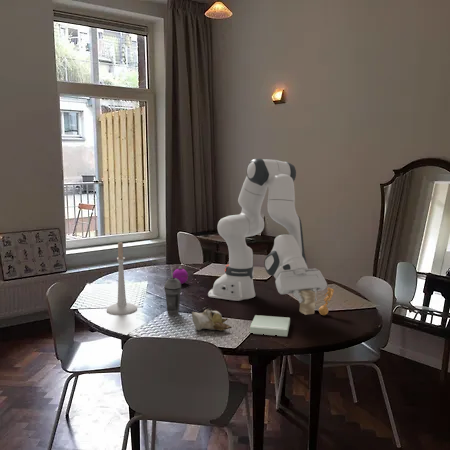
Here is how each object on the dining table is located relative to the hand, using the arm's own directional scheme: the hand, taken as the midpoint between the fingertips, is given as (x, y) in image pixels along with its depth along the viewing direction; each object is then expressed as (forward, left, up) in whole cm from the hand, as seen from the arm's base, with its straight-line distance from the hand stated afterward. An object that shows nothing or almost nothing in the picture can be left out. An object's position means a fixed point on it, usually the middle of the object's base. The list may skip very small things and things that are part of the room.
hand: (308, 301), depth 180 cm
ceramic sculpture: (-37, -2, -13) cm, 39 cm away
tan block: (0, +1, -4) cm, 4 cm away
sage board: (-14, +3, -13) cm, 19 cm away
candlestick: (-79, +11, -13) cm, 81 cm away
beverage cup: (-56, +11, -13) cm, 59 cm away
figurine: (+7, +24, -13) cm, 28 cm away
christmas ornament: (-67, +57, -13) cm, 89 cm away
